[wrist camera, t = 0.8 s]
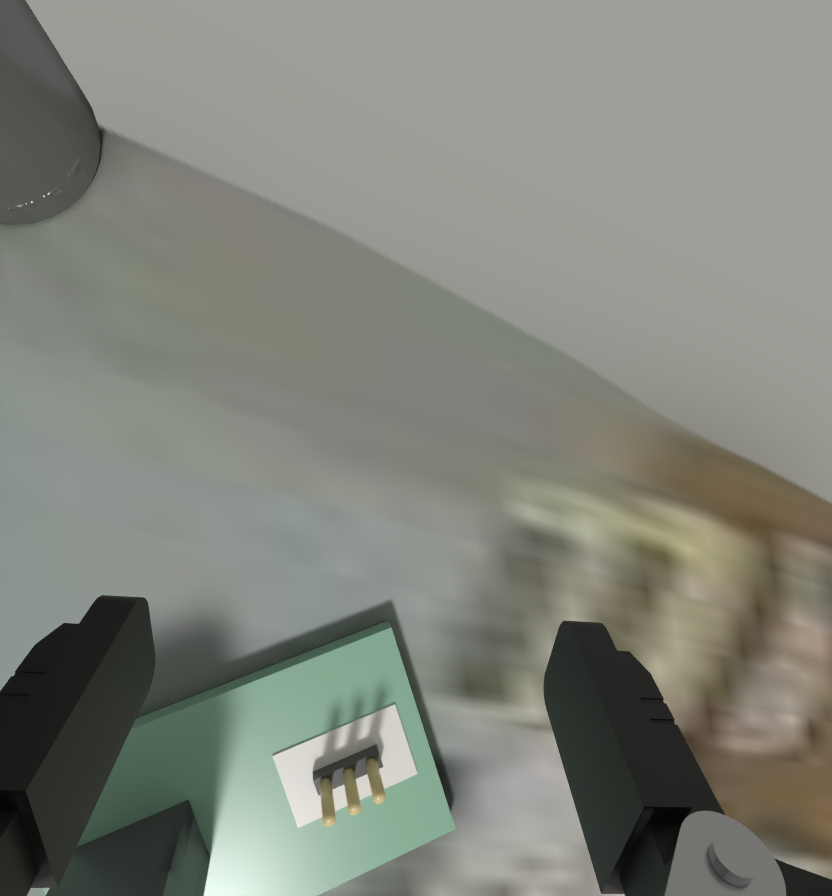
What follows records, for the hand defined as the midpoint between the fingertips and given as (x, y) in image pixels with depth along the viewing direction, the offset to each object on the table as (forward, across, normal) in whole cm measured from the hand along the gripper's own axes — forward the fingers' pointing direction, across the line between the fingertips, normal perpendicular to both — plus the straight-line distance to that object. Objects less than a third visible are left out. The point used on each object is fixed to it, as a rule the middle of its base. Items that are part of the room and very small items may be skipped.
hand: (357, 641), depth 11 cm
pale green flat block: (+13, +5, +26) cm, 29 cm away
